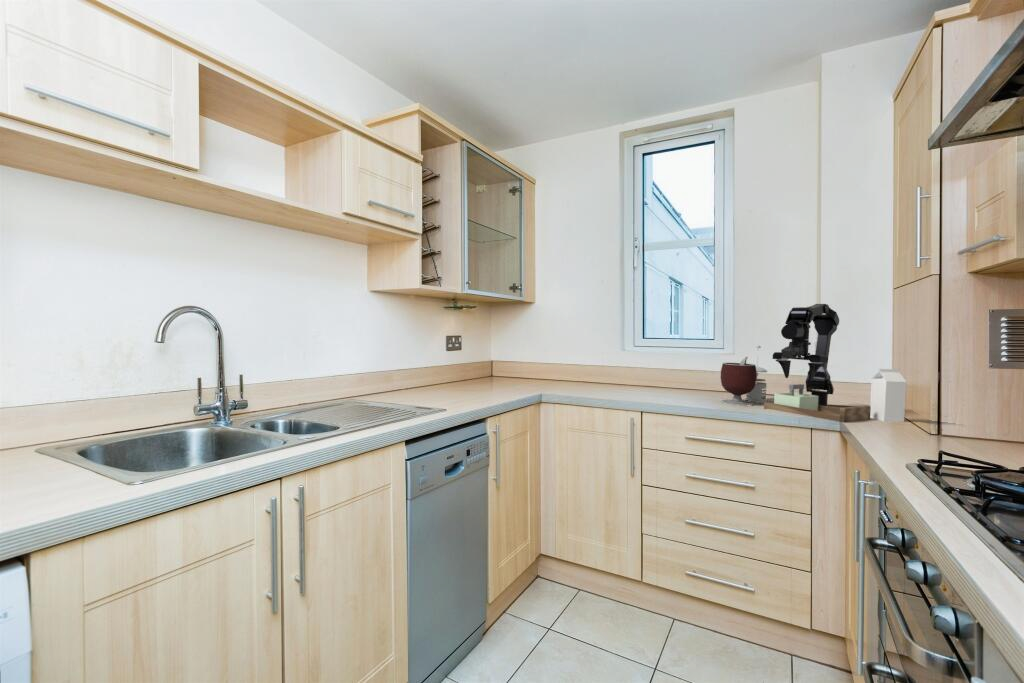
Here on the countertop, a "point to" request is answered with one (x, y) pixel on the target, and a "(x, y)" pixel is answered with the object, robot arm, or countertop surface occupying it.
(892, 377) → the milk carton
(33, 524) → the countertop surface
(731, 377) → the mate gourd
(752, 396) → the french press
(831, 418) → the bay
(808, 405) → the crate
